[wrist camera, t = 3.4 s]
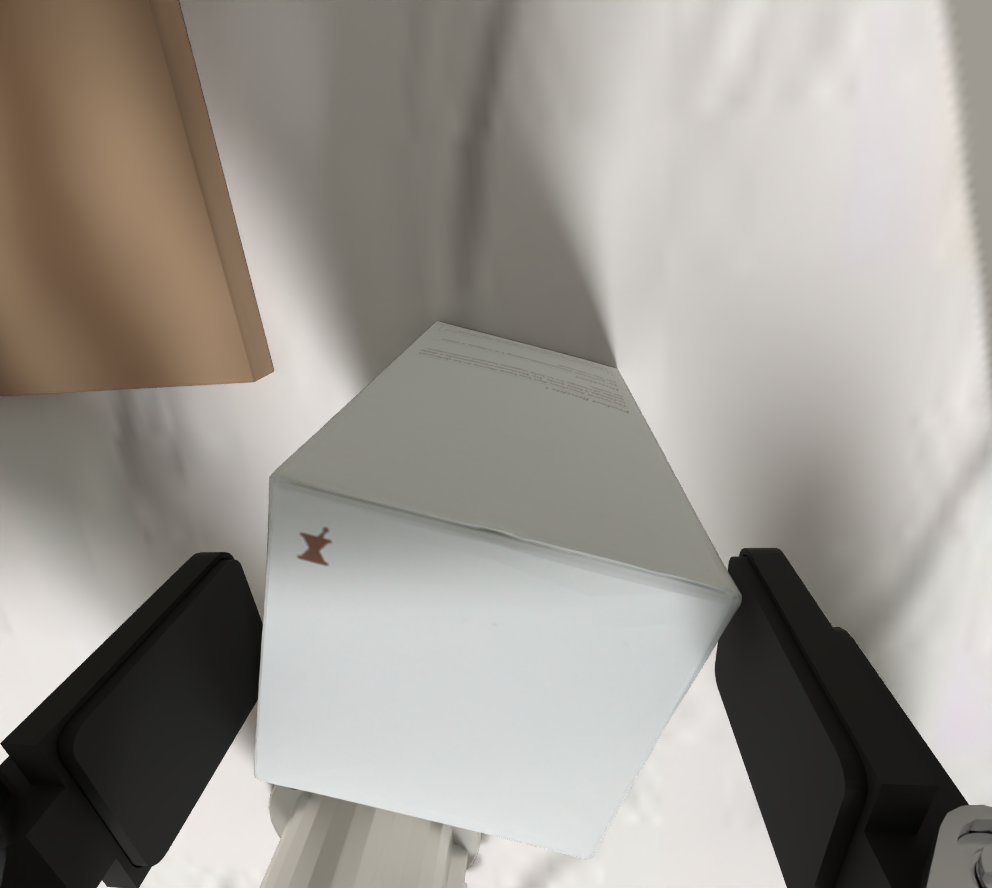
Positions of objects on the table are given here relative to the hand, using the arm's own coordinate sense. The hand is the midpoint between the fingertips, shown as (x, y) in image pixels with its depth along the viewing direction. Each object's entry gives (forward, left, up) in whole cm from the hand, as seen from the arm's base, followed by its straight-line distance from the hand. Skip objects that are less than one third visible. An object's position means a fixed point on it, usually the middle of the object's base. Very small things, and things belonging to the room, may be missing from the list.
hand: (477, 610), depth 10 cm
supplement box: (0, +1, -11) cm, 11 cm away
